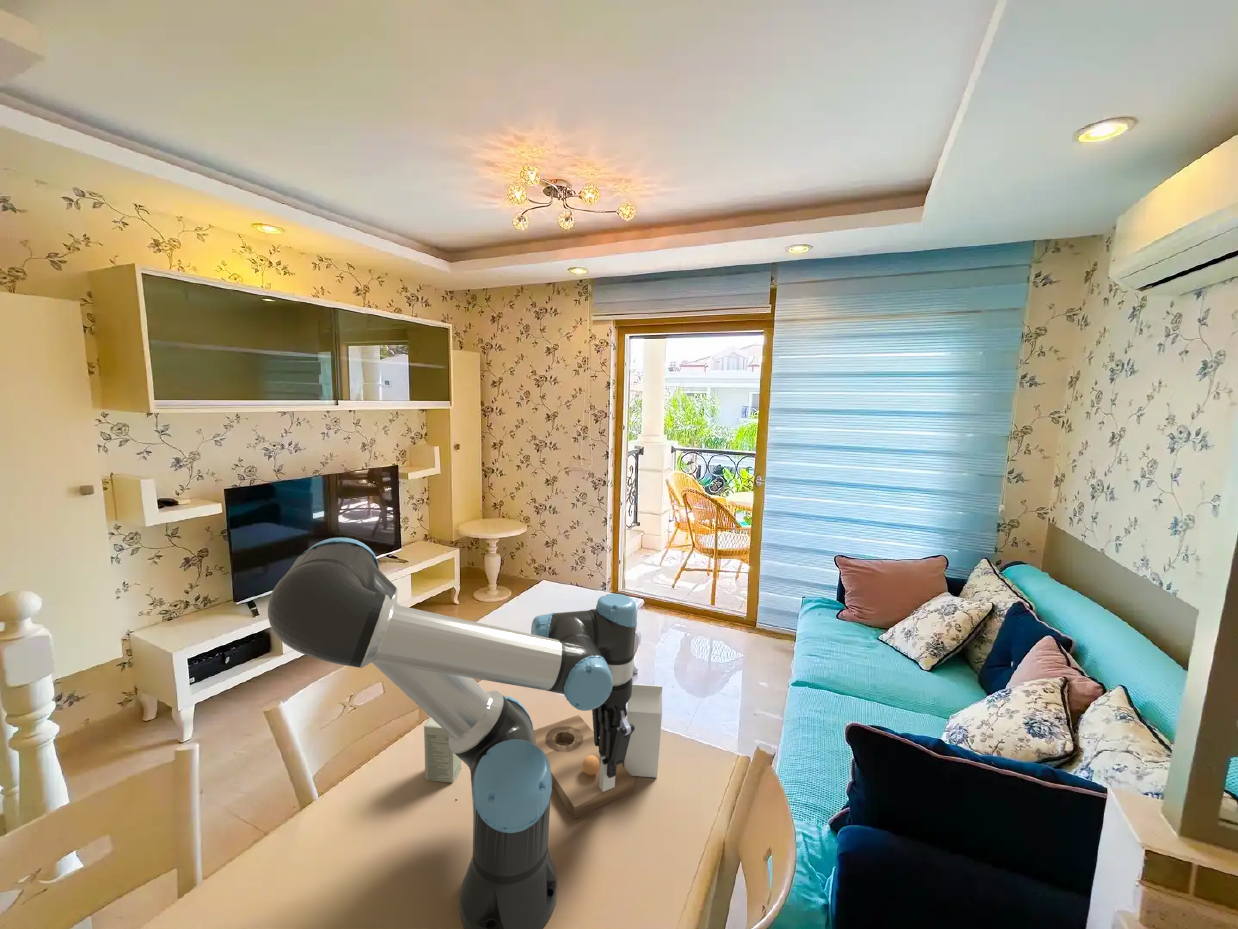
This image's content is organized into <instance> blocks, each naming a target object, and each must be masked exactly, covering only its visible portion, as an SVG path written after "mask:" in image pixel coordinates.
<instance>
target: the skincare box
mask: <svg viewBox="0 0 1238 929" xmlns="http://www.w3.org/2000/svg"><path fill="white" fill-rule="evenodd" d="M423 732H424V733H423V735H424V738H423V739H424V743H423V744H424V770H425V771H424V772H425V773H424V774H425V775H424V777H425V778H424V779H425V780H427V781H433V782H443V783H454V782H455V781H456V779H457V777H458V775H459V774H460V772H461V770H462V760H461V759H460V758H459V757H458V756H457V755H456V754H455V753H453V752H452V751H451V749H450V748H449V734H448V733H447V732H446V731H445V730H444V729H443V728H442V727H441V726H440V725H439V724H438V723H437V722H435V721H434V720H433V719H432V718H431V717H429V719H428V720H427V721H426V723H425V724H424V725H423Z"/></svg>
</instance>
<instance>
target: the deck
mask: <svg viewBox="0 0 1238 929" xmlns="http://www.w3.org/2000/svg"><path fill="white" fill-rule="evenodd" d="M533 732H534V736H535V740H536V744H537V746H538V747H539V748H540V749H541V750H542V751H543V752H544V753H545V755H546V757H547V759H548V761H549V764H550V770H551V776H552V787H553V789H554V791H555V792H556V793H557V795H558V796H559V798H560V800H561V801H562V803H563V804H564V806H565V807H566V809H567V811H568V812H569V814H570V815H571V817H572V818H573V819H574V820H575V819H577V818H579V817H581V816H584V815H586V814H588V813H590V812H592V811H594V810H597V809H598V808H601V807H603V806H605V805H607V804H609V803H611V802H614V801H615V800H618V799H620V798H622V797H624V796H626V795H628V794H631V793H633V792H634V791H635V782H636V780H635V778H634V776H631V775H630V774H629V773H628V771H627V770H626V769H625V768H624V766H623V763H620V764H618V765H617V768H616V776H615V787H613V788H611V789H609V790H606V791H604V792H603V791H602V790H601V789H600V787H599V781H600V768H599V771H598V772H597V773H596V774H595V775H592V776H590V775H587V774H586V773H585V772H584V770H583V761H584V759H585V758H586V757H587V756H590V755H593V756H595V757H597V758H598V760H599V762H600V754H599V747H598V746H597V747H596V746H595V743H594V730H593V729H592V728H591V727H590V726H589V725H588V724H587V722H586V721H585V720H584V719H583V718H582V717H581V716H580V714H577V715H574V716H572V717H569V718H565V719H563V720H560V721H557V722H554V723H551V724H548V725H545V726H542V727H538V728H536V729H533ZM560 743H569V744H567V745H560Z"/></svg>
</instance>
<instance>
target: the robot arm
mask: <svg viewBox="0 0 1238 929" xmlns="http://www.w3.org/2000/svg"><path fill="white" fill-rule="evenodd" d="M379 566H380V564H379V561H378V559H377V556H376V554H375V553H374V551H373V550H372V548H370V547H369V546H368V545H366V544H365V543H364V542H361V541H359V540H357V539H354V538H352V537H351V538H350V537H341V536H340V537H333V538H332V537H330V538H328V539H323V540H322V541H319V542H317V543H315V544H314V545H312V546H311V547H309V548H308V549H307V550H304V551H303V553H301V555H299V556H298V557H297V558H296V560H295V561H294V562H293V564H292V566H291V567H290V568H289V570H288V571H287V572H286V573H285V575H284V576H282V578H281V579H279V581H278V582H277V584H276V585H275V586H274V588H273V590H272V592H271V594H270V596H269V600H268V605H267V618H268V622H269V626H270V627H271V629H272V631H273V633H274V635H276V637H277V638H278V639H279V640H280V641H281V643H283V644H284V645H286V646H287V647H289V648H291V649H292V650H294V651H297V652H298V653H300V654H303V655H304V656H306V657H311V658H314V659H317V660H319V661H323V662H327V663H331V664H335V665H336V664H337V665H341V666H348V667H353V668H360V669H363V668H365V667H366V666H368V665H369V664H373V666H374V667H376V668H377V669H378V670H379V671H380V672H381V673H382V674H383V675H385V676H386V677H387V678H388V680H389V681H391V682H392V683H393V684H394V685H395V686H396V687H397V688H398V689H399V690H401V691H402V692H403V693H404V695H406V696H407V697H408V698H409V699H411V701H412V702H414V703H415V704H416V705H417V706H418V707H419V708H420V709H421V710H422V711H423V712H424V713H425V714H427V715H428V716H429V718H432V719H433V720H434V721H435V722H437V723H438V724H439V725H440V726H441V727H442V728H443V729H444V730H445V731H446V732H447V733H448V734H449V748H450V749H451V751H452V752H453V753H455V754H456V755H457V756H458V757H459V758H460V759H461V762H463V763H464V764H466V766H467V767H468V768H469V770H470V782H471V784H470V785H471V796H472V815H473V816H472V817H473V819H472V820H473V821H472V822H473V823H472V826H473V827H472V831H473V832H472V857H471V860H470V862H469V865H468V868H467V870H466V872H465V875H464V878H463V880H462V883H461V888H460V893H459V894H460V895H459V914H460V920H461V922H462V925H463V927H464V929H544V927H545V926H546V925H547V923H548V922H549V920H550V919H551V916H552V914H553V912H554V909H555V906H556V902H557V897H558V875H557V872H556V867H555V863H554V861H553V857H552V855H551V852H550V850H549V835H550V834H549V833H550V831H549V830H550V812H551V811H550V810H551V795H552V789H553V788H552V787H553V786H552V776H551V770H550V764H549V761H548V759H547V757H546V755H545V753H544V752H543V751H542V750H541V749H540V748H539V747H538V746H537V744H536V740H535V736H534V732H533V730H534V726H533V722H532V719H531V716H530V714H529V713H528V711H527V710H526V708H525V706H524V705H523V704H522V703H521V702H520V701H519V700H518V699H516V698H514V697H512V696H508V695H505V696H504V695H503V694H502V693H501V692H500V691H498V690H489V691H486V690H485V689H484V688H483V687H482V685H480V684H479V683H478V682H477V681H475V680H481V681H487V682H493V683H499V684H506V685H511V686H517V687H523V688H529V689H535V690H540V691H547V692H551V693H556V694H561V695H564V697H565V699H566V701H568V703H569V704H570V705H571V706H572V707H573V708H575V709H577V710H578V711H585V712H586V711H591V713H592V728H593V729H592V731H593V732H594V743H595V746H596V747H597V746H598V747H599V754H600V781H599V787H600V789H601V790H602V791H603V792H604V791H606V790H609V789H611V788H613V787H615V776H616V768H617V765H618V764H620V763H621V764H624V761H625V756H626V752H627V748H628V744H629V740H630V736H631V734H632V733H633V731H634V729H635V728H634V725H633V724H630V725H629V723H628V721H627V705H628V700H629V699H630V698H631V695H632V684H633V676H634V675H633V674H634V673H633V672H634V657H635V641H636V632H637V625H638V624H637V623H638V622H637V604H636V602H635V601H634V600H633V599H632V598H631V597H629V596H628V595H625V594H620V593H608V594H605V595H602V596H600V597H599V598H598V600H597V604H596V608H591V609H587V610H578V611H565V612H551V613H548V614H541V615H537V616H535V617H534V618H533V620H532V622H531V627H530V628H531V631H530V633H529V632H528V633H527V632H523V631H518V630H513V629H509V628H504V627H499V626H495V625H490V624H486V623H482V622H477V621H473V620H467V619H462V618H459V617H455V616H450V615H445V614H441V613H436V612H431V611H427V610H422V609H417V608H413V607H407V606H403V605H400V604H399V603H398V591H399V590H398V588H397V586H396V585H394V583H393V582H392V581H391V580H390V579H389V578H387V576H386V575H385V574H384V573H383V572H382V571H381V569H380V567H379Z"/></svg>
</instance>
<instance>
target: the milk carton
mask: <svg viewBox="0 0 1238 929" xmlns="http://www.w3.org/2000/svg"><path fill="white" fill-rule="evenodd" d="M626 709H627V716H626V719H627V721H628V723H629V725H630V724H633V725H634V728H635V729H634V731H633V733H632V734H631V736H630V740H629V744H628V748H627V752H626V756H625V761H624V762H623V764H624V766H623V767H624V768H625V769H626V770H627V771H628V773H629V774H630V775H631V776H632V777H643V778H644V777H645V778H658V770H659V759H660V758H659V757H660V744H661V732H662V731H661V730H662V717H663V686H662V685H652V684H640V683H639V684H637V683H636V684H633V683H632V695H631V698H630V699H629V700H628V702H627V704H626Z"/></svg>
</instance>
